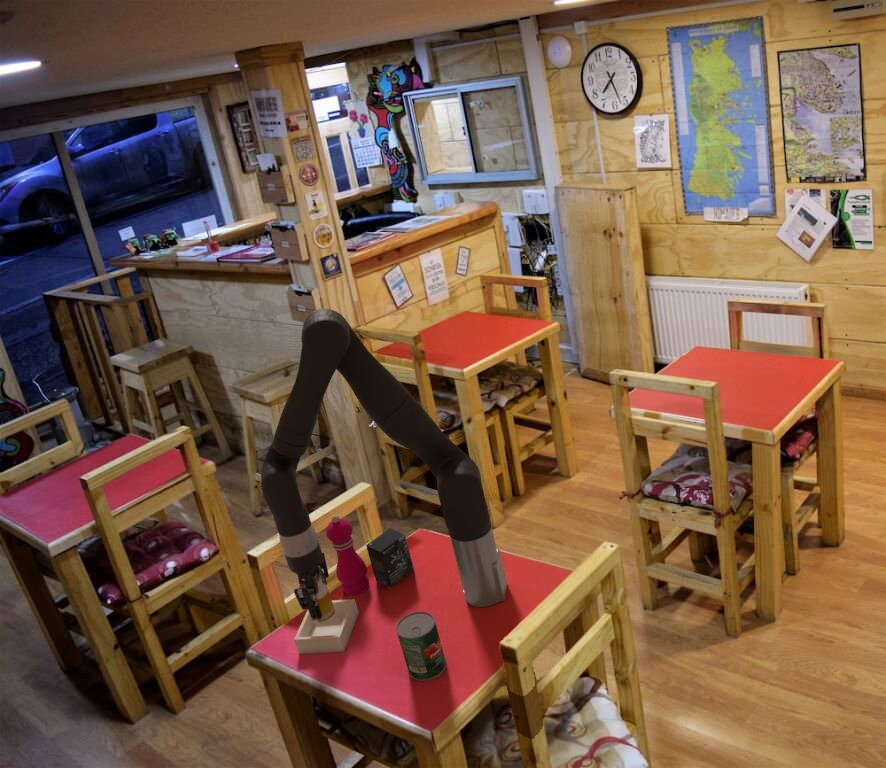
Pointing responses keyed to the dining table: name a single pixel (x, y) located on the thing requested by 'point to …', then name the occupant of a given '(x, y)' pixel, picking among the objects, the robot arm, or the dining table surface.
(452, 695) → the dining table surface
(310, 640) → the tub
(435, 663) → the canned tomato
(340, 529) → the pepper mill
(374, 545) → the box
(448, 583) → the dining table surface
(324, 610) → the supplement bottle
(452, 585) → the dining table surface
